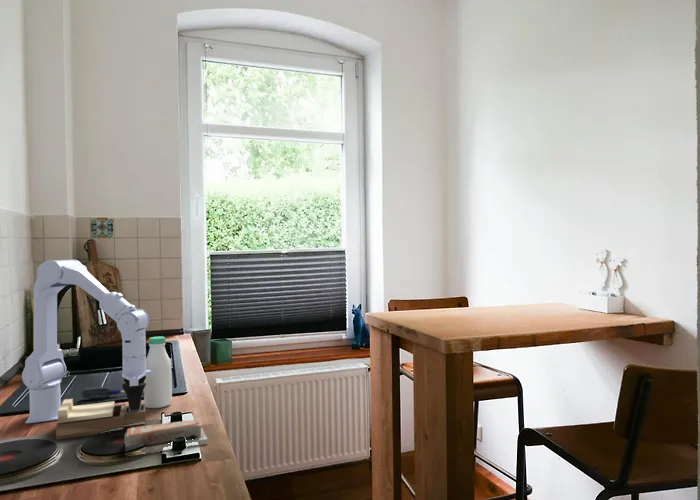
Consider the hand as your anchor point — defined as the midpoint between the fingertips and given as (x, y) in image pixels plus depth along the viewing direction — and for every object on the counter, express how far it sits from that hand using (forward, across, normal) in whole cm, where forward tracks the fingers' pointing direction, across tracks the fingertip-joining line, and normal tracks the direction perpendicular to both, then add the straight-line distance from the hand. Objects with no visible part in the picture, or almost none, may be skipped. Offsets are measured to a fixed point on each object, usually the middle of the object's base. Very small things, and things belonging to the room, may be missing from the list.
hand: (135, 406), depth 133 cm
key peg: (+4, 0, 0) cm, 4 cm away
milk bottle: (+4, +13, -6) cm, 15 cm away
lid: (0, 0, +11) cm, 11 cm away
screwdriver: (+4, +28, +3) cm, 28 cm away
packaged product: (+5, -20, -7) cm, 21 cm away
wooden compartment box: (+4, 0, +8) cm, 9 cm away
